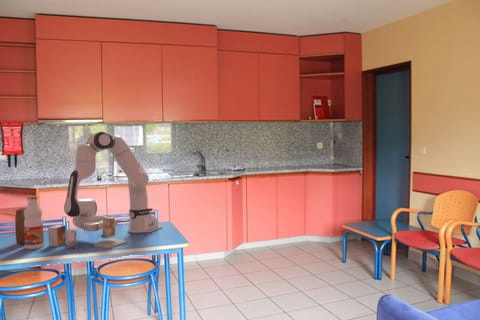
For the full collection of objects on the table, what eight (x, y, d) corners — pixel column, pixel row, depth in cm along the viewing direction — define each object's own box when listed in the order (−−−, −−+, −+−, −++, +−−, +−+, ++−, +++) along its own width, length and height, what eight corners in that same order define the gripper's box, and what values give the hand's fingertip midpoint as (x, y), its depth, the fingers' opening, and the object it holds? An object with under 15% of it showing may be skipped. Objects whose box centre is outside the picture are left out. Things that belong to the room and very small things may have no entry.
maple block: (109, 234, 236) (109, 216, 235) (115, 235, 233) (114, 217, 233) (103, 235, 232) (103, 218, 231) (108, 237, 230) (108, 219, 229)
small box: (57, 246, 229) (56, 227, 228) (48, 246, 230) (47, 227, 230) (66, 243, 237) (65, 224, 236) (57, 242, 238) (57, 224, 237)
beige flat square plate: (113, 240, 242) (113, 238, 242) (127, 242, 236) (127, 241, 236) (92, 245, 231) (92, 243, 231) (107, 248, 224) (107, 246, 224)
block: (28, 245, 234) (27, 209, 232) (14, 245, 233) (13, 210, 232) (36, 240, 244) (35, 206, 243) (23, 240, 244) (21, 206, 243)
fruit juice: (47, 245, 231) (45, 195, 229) (33, 250, 222) (31, 198, 221) (35, 244, 235) (33, 195, 233) (20, 248, 226) (18, 197, 224)
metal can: (73, 246, 230) (72, 230, 229) (78, 247, 227) (78, 231, 227) (64, 248, 226) (64, 231, 225) (70, 249, 223) (69, 233, 222)
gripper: (78, 220, 231) (94, 223, 223) (108, 215, 248) (124, 217, 240) (78, 232, 231) (94, 235, 223) (108, 225, 248) (124, 228, 240)
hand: (110, 226), depth 232 cm, fingers closed on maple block, 4 cm apart
